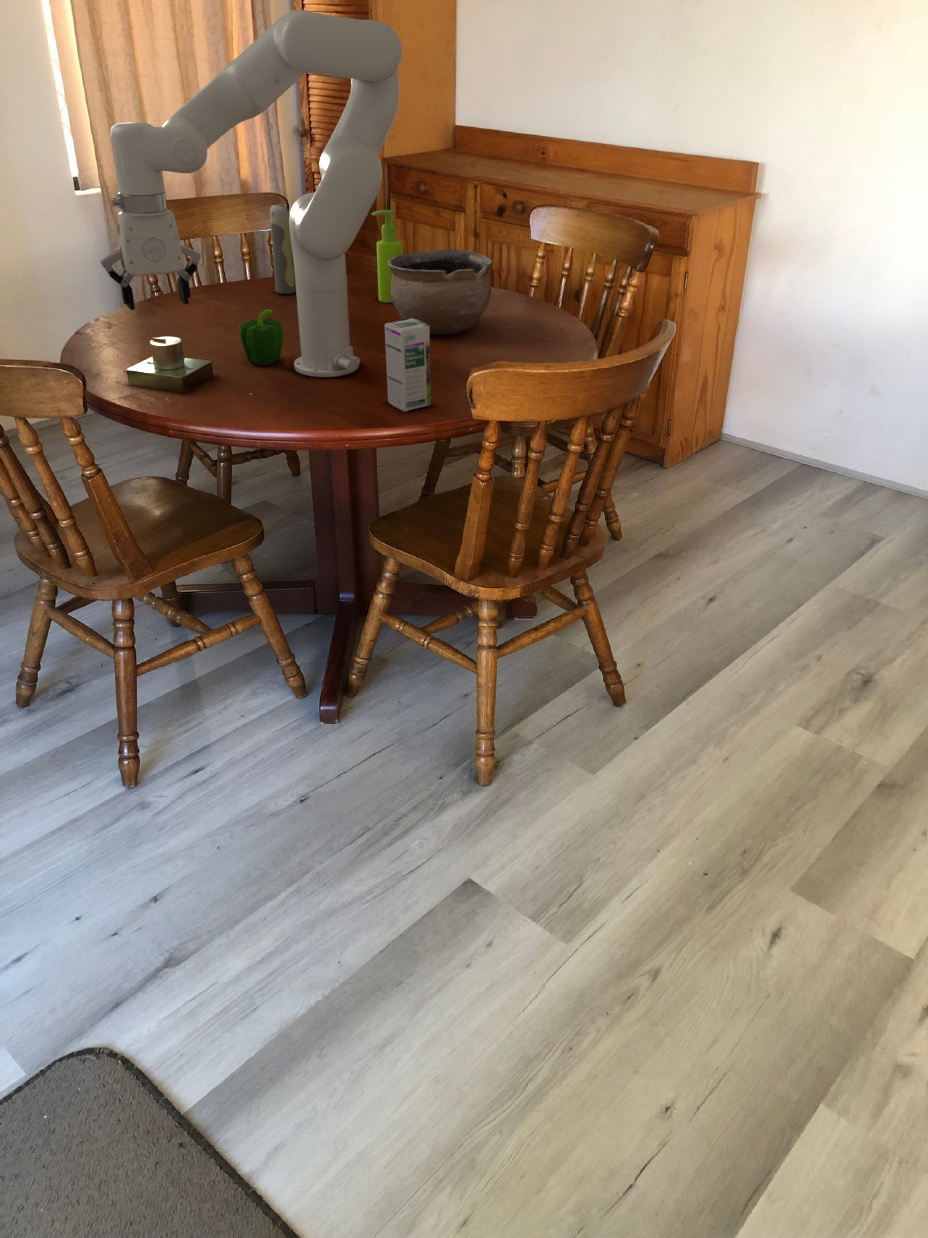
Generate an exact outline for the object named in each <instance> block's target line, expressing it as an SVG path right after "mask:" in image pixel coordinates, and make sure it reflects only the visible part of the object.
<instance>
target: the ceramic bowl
mask: <svg viewBox="0 0 928 1238" xmlns="http://www.w3.org/2000/svg"><path fill="white" fill-rule="evenodd" d="M493 262H494V260H493V259H492V258H490V257H489V256H486V255H484V254H481V253H478V252H474V251H470V250H462V249H435V250H424V251H416V252H415V251H414V252H410V253H402V254H401V255H398V256H395V257H394V258H392V259H389V261H388V265H389V267H390V270H391V272H392V281H391V298H392V302H393V303H392V305H393V306H394V307H395V309H396V310H397V312H398V314H399V315H400V316H401V318H402V319H403V320H409V319H411V318H412V319H416V320H419V321H422V322H424V323H426V324H427V325H429V330H430V335H439V336H442V335H445V336H446V335H447V336H448V335H456V334H460V333H463V332H465V331H467V330H469V329H470V328H471V327H473V326H474V325H475V324H476V323H477V322H478V321H479V320H480V318H481V317H482V316H483V314H484V312H485V310H486V308H487V307H488V305H489V303H490V299H491V295H492V283H491V277H490V270H491V268H492V265H493Z"/></svg>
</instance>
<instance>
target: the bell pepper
mask: <svg viewBox="0 0 928 1238" xmlns="http://www.w3.org/2000/svg"><path fill="white" fill-rule="evenodd" d="M272 314H273V310H272V309H265V310H262V311H261V312H260V313H259V314H258V319H257V320H255V319H253V318H247V319H246V320H245V321H244V322H243V323H240V325H239V328H238V333H239V340H240V344H241V346H242V350H243V352H244V355H245V358H246V359H247V360H248V362H249V363H253V364H255V365H257V366H271V365H274V364H275V363H276V362H277V361H278V360H279V359H280V357H281V356H282V355H281V354H282V350H283V349H282V348H283V340H284V329H283V326H282V323H281V321H280V320H274V319H273V318H272V317H267V318H265V317H266V316H267V315H269V316H271V315H272Z"/></svg>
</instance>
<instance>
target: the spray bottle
mask: <svg viewBox="0 0 928 1238" xmlns="http://www.w3.org/2000/svg"><path fill="white" fill-rule="evenodd" d="M269 216H270V233H271V243H272V244H271V245H272V247H271V248H272V258H273V271H274V284H275V285H274V286H275V292H276V293H277V294H279V295H292V294H295V293H296V280H295V269H294V259H293V251H292V245H291V238H290V230H289V217H290V213H289V210H288V207H287V206H286V205H284V204H281V203H277V204H273V205H271V207H270V209H269Z"/></svg>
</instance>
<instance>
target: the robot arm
mask: <svg viewBox="0 0 928 1238" xmlns="http://www.w3.org/2000/svg"><path fill="white" fill-rule="evenodd" d="M402 61H403V45H402V42H401V39H400V37H399V35H398V34H397V32H396V31H395V30H394V29H393V28H392V27H391V26H390V25H389V24H387V23H385V22H382V21H379V20H372V19H360V18H350V17H343V16H337V15H336V16H335V15H330V14H324V13H319V12H314V11H309V10H303V9H293V10H290V11H287V12H286V13H285V14H282V15H281V17H279V18H278V19H277V20H275V22H273V23H272V24H271V25H270V26H269V27H268V28H267V29H266V30H265V31H264V32H263V33H262V34H260V35H259V36H258V37H257V38H256V39H255V40H254V41H253V42H252V43H251V44H249V45H248V47H246V48H245V49H244V50H243V51H242V52H240V53H239V55H238V56H236V57H235V58H234V59H233V60H232V61H230V62H229V63H228V65H226V66H225V67H224V68H223V69H222V70H220V71H219V73H217V75H215V76H214V78H213V79H211V80H210V81H209V82H208V83H207V84H205V86H203V87H202V88H201V89H200V90H199V91H198V92H196V93H195V95H193V96H192V97H191V98H189V100H187V102H185V103H184V104H183V105H182V106H181V107H180V108H178V109H177V110H176V112H174V113H173V114H172V115H171V116H170V117H169V118H168V119H167V120H166V121H165V122H164V124H163V125H161V126H154V125H152V124H150V123H147V122H141V121H139V122H138V121H127V122H119V123H115V124H113V125H112V126H111V128H110V131H109V132H110V133H109V134H110V142H111V149H112V155H113V163H114V168H115V169H114V170H115V173H116V174H115V175H116V180H117V187H118V192H117V196H116V197H112V198H111V200H110V202H111V205H112V207H113V208H115V207H116V208H119V209H120V210H121V211H119V212H118V214H117V215H118V216H117V232H118V233H117V235H118V238H117V239H118V249H116V250H114V251H112V253H110V254H108V255H106V256H105V257H104V258H102V259H101V260H100V265H101V267H102V268H103V269H104V271H105V272H106V273H107V275H108V276H109V277H110V279H112V280H114V281H115V282H116V283H117V284H118V285H120V290H121V297H122V303H123V304H124V305H126V307H127V308H128V309H129V310H130V311H134V310H136V306H135V299H134V293H133V288H132V286H130V285H131V284H130V283H131V282H132V280H133V278H134V277H147V276H156V275H158V276H159V275H167V274H174V273H176V274H177V275H178V278H177V281H176V282H177V287H178V295H179V301H180V302H181V303H183V304H185V305H189V304H190V303H189V299H190V298H191V290H190V281H191V279H192V276H193V275H194V274H195V273H196V271H197V269H198V265H199V262H200V261H201V256H202V254H201V253H200V252H198V251H197V250H195V249H192V248H189V247H187V246H185V245H183V244H182V243H181V239H180V233H179V230H178V225H177V222H176V218H175V215H174V213H173V211H172V210H170V209H168V205H167V197H166V190H165V189H166V188H165V181H164V173H163V172H170V173H177V174H193V173H195V172H197V171H200V170H201V168H202V167H203V166H204V165H205V163H206V161H207V158H208V149H210V148H211V146H213V145H214V144H215V143H216V142H217V141H219V139H221V137H223V136H224V135H225V134H226V133H228V132H229V131H230V130H231V129H233V128H234V127H236V126H237V125H239V124H241V123H242V122H246V121H248V120H252V119H253V118H255V117H258V116H259V115H261V114H262V113H264V112H265V111H266V110H267V109H268V108H269V107H270V106H272V105H273V104H274V103H275V102H276V101H277V100H278V99H279V98H280V97H281V96H283V94H284V93H286V92H287V91H288V90H289V89H290V88H292V86H294V85H295V84H296V83H297V82H299V80H300V79H302V78H303V77H304V76H305V75H306V74H307V73H308V74H314V75H319V76H325V77H332V78H341V79H350V80H351V82H350V83H351V84H350V85H351V86H350V93H349V96H348V99H347V102H346V104H345V107H344V109H343V112H342V114H341V116H340V117H339V120H338V122H337V124H336V126H335V128H334V130H333V131H332V132H333V133H332V134H331V136H330V137H329V140H328V141H327V144H326V145H325V147H324V148H323V150H322V153H321V155H320V158H319V165H318V166H319V172H320V176H321V180H320V182H319V184H318V185H317V188H316V190H315V192H308V193H305V194H303V195H301V196H300V197H299V198H297V200H295V202H294V203H293V205H292V206H291V209H290V211H289V230H290V238H291V245H292V253H293V263H294V274H295V284H296V291H295V293H296V295H295V296H296V303H297V304H296V306H297V318H298V330H299V342H300V343H299V344H300V355H301V356H299V357H297V358H296V359H295V360H294V362H293V366H294V367H293V368H294V370H295V371H296V372H297V373H298V374H301V375H303V376H308V377H313V378H335V377H341V376H346V375H349V374H352V373H354V372H356V370H358V369H359V368H360V364H361V358H360V357H357V356H354V347H353V346H351V338H350V335H351V334H350V319H349V317H350V316H349V300H348V299H349V298H348V278H347V277H348V276H347V264H346V255H345V254H346V252H347V251H349V249H350V247H351V246H352V245H353V243H354V241H355V239H356V237H357V236H358V233H359V232H360V229H361V227H362V226H363V224H364V222H365V220H366V219H367V216H368V215H369V212H370V210H371V208H372V206H373V205H374V202H375V200H376V198H377V196H378V195H379V192H380V189H381V186H382V180H383V167H382V163H381V160H380V158H379V156H380V154H381V152H382V149H383V147H384V145H385V143H386V141H387V138H388V135H389V134H390V132H391V130H392V127H393V125H394V123H395V119H396V116H397V113H398V110H399V105H400V95H401V89H400V77H399V71H398V70H399V68H400V65H401V63H402ZM184 255H185V256H188V257H189V262H188V263H187V264H186V266H185V260H184ZM119 261H120V265H121V267H122V271H121V273H120V274H119V273H118V272H117V271H115V269H114V267H113V265H114V264H116V263H117V262H119Z"/></svg>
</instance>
